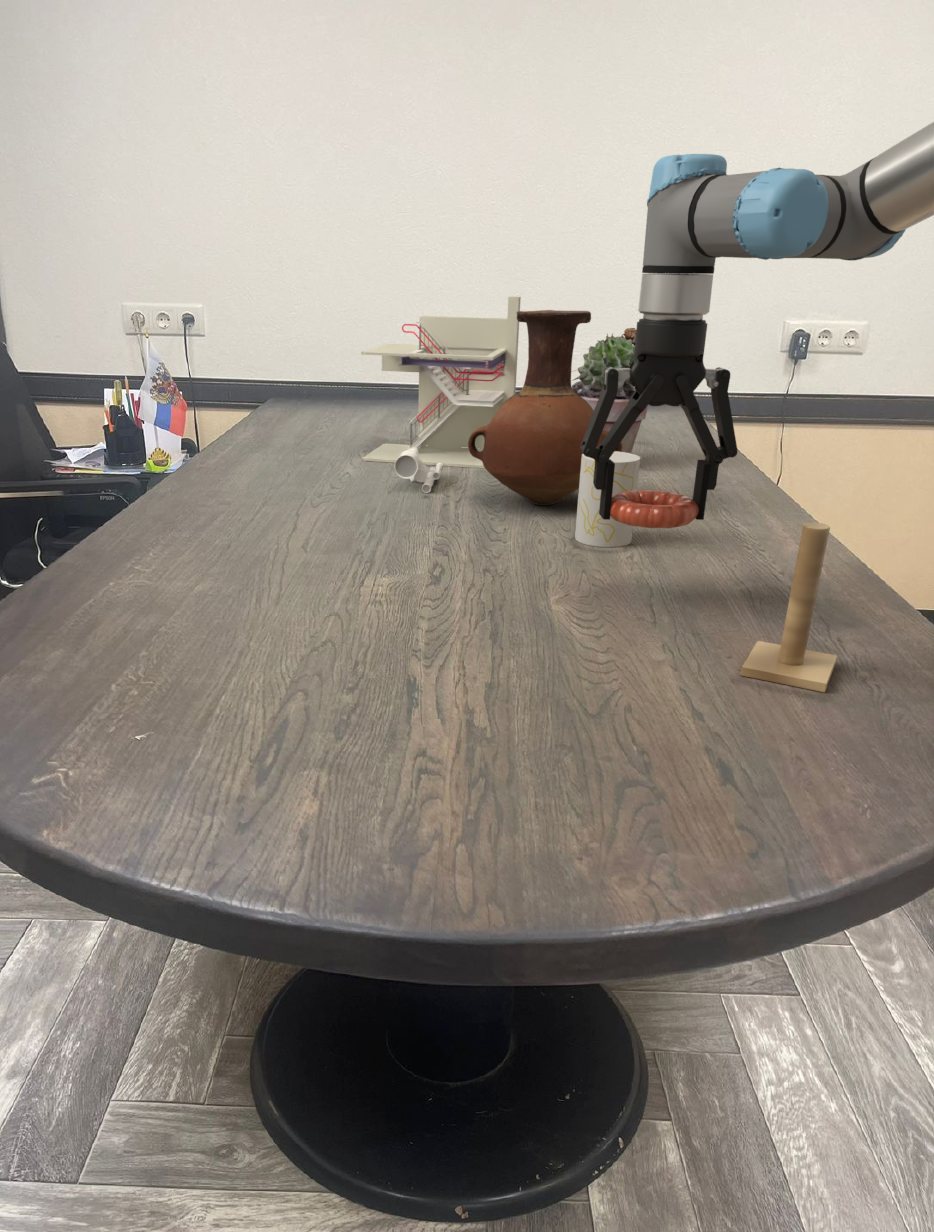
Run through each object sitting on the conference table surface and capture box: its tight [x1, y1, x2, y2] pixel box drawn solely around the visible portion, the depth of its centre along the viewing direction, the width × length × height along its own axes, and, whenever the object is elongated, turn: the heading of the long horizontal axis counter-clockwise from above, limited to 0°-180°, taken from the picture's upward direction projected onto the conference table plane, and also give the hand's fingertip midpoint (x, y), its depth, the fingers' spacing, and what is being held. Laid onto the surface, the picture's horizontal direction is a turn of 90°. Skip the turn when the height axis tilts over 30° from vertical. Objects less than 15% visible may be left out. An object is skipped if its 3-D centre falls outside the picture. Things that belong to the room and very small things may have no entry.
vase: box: [468, 309, 622, 506], centre depth 152 cm, size 25×20×30 cm
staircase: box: [360, 296, 521, 469], centre depth 184 cm, size 28×18×30 cm, turn 76°
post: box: [740, 521, 839, 693], centre depth 93 cm, size 8×8×15 cm
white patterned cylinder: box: [574, 451, 641, 548], centre depth 136 cm, size 8×8×12 cm
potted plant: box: [571, 327, 649, 454], centre depth 182 cm, size 18×20×25 cm
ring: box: [610, 489, 699, 529], centre depth 112 cm, size 10×10×3 cm
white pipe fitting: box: [393, 447, 444, 494], centre depth 169 cm, size 8×14×5 cm
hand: (650, 516), depth 113 cm, fingers closed on ring, 10 cm apart
